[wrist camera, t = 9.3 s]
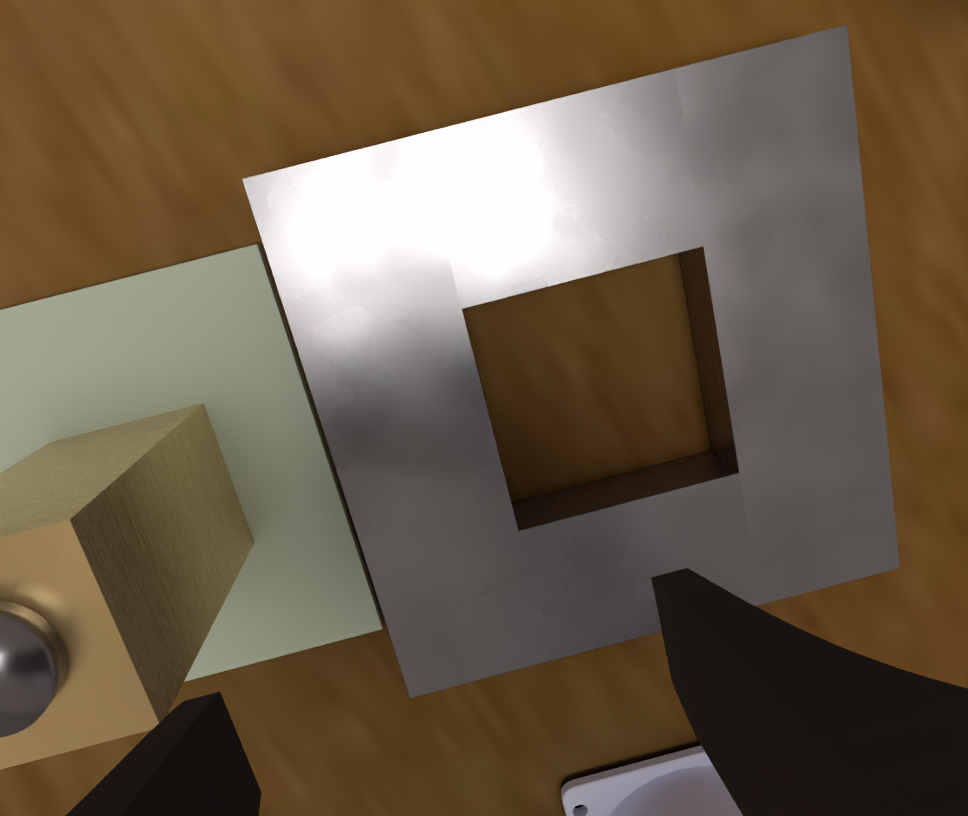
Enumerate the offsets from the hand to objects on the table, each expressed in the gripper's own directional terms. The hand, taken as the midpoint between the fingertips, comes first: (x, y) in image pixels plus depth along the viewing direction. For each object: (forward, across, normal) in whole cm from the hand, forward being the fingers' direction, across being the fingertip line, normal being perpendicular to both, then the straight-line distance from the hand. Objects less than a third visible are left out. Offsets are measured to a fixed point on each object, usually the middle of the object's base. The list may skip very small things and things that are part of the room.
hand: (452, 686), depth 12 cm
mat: (+10, +8, -2) cm, 13 cm away
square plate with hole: (+10, -5, -2) cm, 12 cm away
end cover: (+10, +8, -2) cm, 13 cm away
